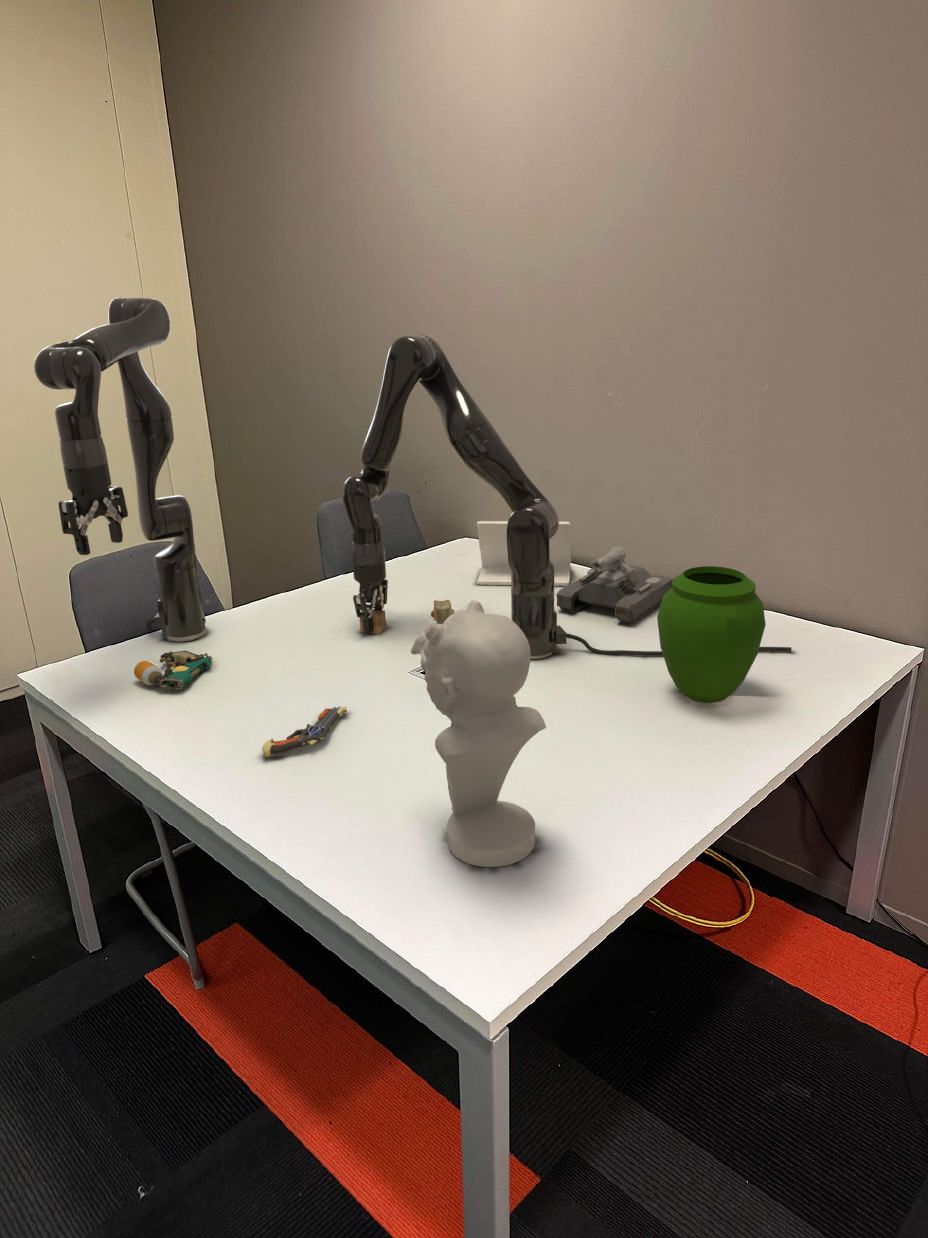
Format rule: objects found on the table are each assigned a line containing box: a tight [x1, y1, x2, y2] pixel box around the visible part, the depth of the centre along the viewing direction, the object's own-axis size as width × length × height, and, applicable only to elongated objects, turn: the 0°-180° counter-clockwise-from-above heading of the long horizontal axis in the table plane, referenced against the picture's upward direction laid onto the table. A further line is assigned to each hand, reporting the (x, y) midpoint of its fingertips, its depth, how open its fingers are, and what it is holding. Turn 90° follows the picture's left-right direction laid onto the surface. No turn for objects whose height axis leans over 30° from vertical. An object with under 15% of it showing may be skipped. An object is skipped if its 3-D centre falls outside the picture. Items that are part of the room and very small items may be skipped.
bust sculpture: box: [410, 599, 547, 868], centre depth 121 cm, size 16×24×35 cm
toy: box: [556, 546, 675, 624], centre depth 212 cm, size 25×20×15 cm
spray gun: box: [133, 650, 213, 690], centre depth 180 cm, size 4×17×15 cm
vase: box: [656, 565, 767, 704], centre depth 161 cm, size 20×20×24 cm
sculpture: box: [430, 599, 456, 624], centre depth 177 cm, size 6×7×15 cm
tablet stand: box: [476, 520, 572, 587], centre depth 236 cm, size 18×25×17 cm
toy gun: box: [261, 705, 348, 758], centre depth 154 cm, size 3×19×10 cm
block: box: [359, 608, 387, 635], centre depth 202 cm, size 4×5×4 cm
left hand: (101, 548), depth 161 cm, fingers open, 8 cm apart
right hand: (373, 627), depth 203 cm, fingers open, 5 cm apart
